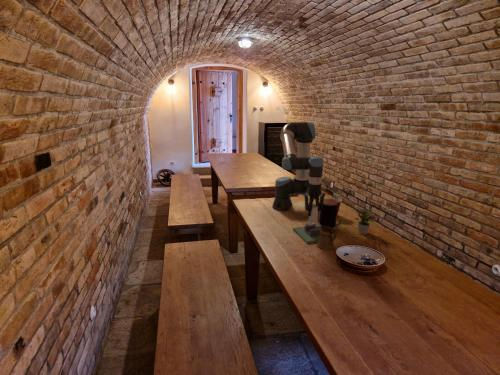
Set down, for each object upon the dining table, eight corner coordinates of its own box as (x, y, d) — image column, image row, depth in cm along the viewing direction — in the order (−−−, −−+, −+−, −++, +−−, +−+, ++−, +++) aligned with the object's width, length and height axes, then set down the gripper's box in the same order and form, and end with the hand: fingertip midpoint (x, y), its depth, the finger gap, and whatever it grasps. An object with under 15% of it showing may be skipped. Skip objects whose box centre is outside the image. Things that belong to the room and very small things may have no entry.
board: (292, 230, 201) (293, 222, 199) (315, 227, 205) (315, 219, 204) (307, 243, 182) (307, 235, 181) (331, 240, 187) (332, 231, 185)
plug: (308, 219, 192) (309, 204, 189) (313, 219, 193) (314, 203, 190) (312, 222, 188) (313, 206, 185) (316, 221, 189) (317, 206, 186)
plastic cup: (332, 211, 232) (333, 196, 229) (343, 215, 224) (345, 200, 221) (321, 214, 226) (322, 198, 223) (333, 219, 218) (334, 202, 215)
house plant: (356, 238, 188) (358, 213, 184) (345, 229, 202) (347, 205, 197) (378, 237, 191) (381, 211, 186) (366, 227, 204) (369, 204, 199)
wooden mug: (334, 254, 170) (337, 223, 165) (313, 246, 180) (315, 216, 175) (343, 248, 176) (345, 219, 171) (322, 241, 186) (324, 212, 181)
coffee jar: (334, 224, 209) (336, 199, 204) (336, 231, 199) (339, 204, 194) (317, 224, 210) (319, 198, 205) (319, 230, 200) (321, 204, 195)
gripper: (305, 186, 178) (303, 224, 184) (330, 183, 182) (328, 221, 189) (299, 182, 185) (298, 220, 191) (324, 180, 189) (321, 217, 196)
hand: (313, 220), depth 190 cm, fingers closed on plug, 3 cm apart
